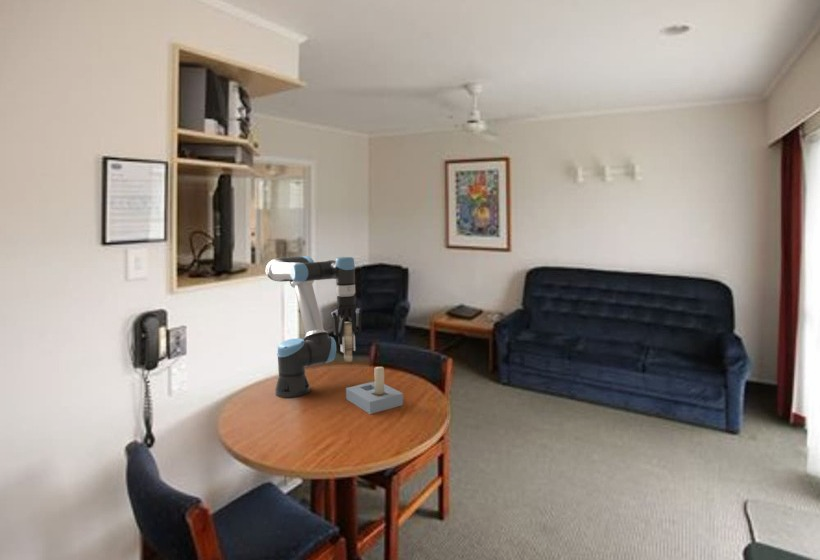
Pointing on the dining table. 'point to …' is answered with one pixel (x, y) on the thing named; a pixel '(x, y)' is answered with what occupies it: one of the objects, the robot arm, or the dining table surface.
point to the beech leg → (348, 341)
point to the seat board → (374, 394)
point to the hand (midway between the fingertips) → (347, 350)
